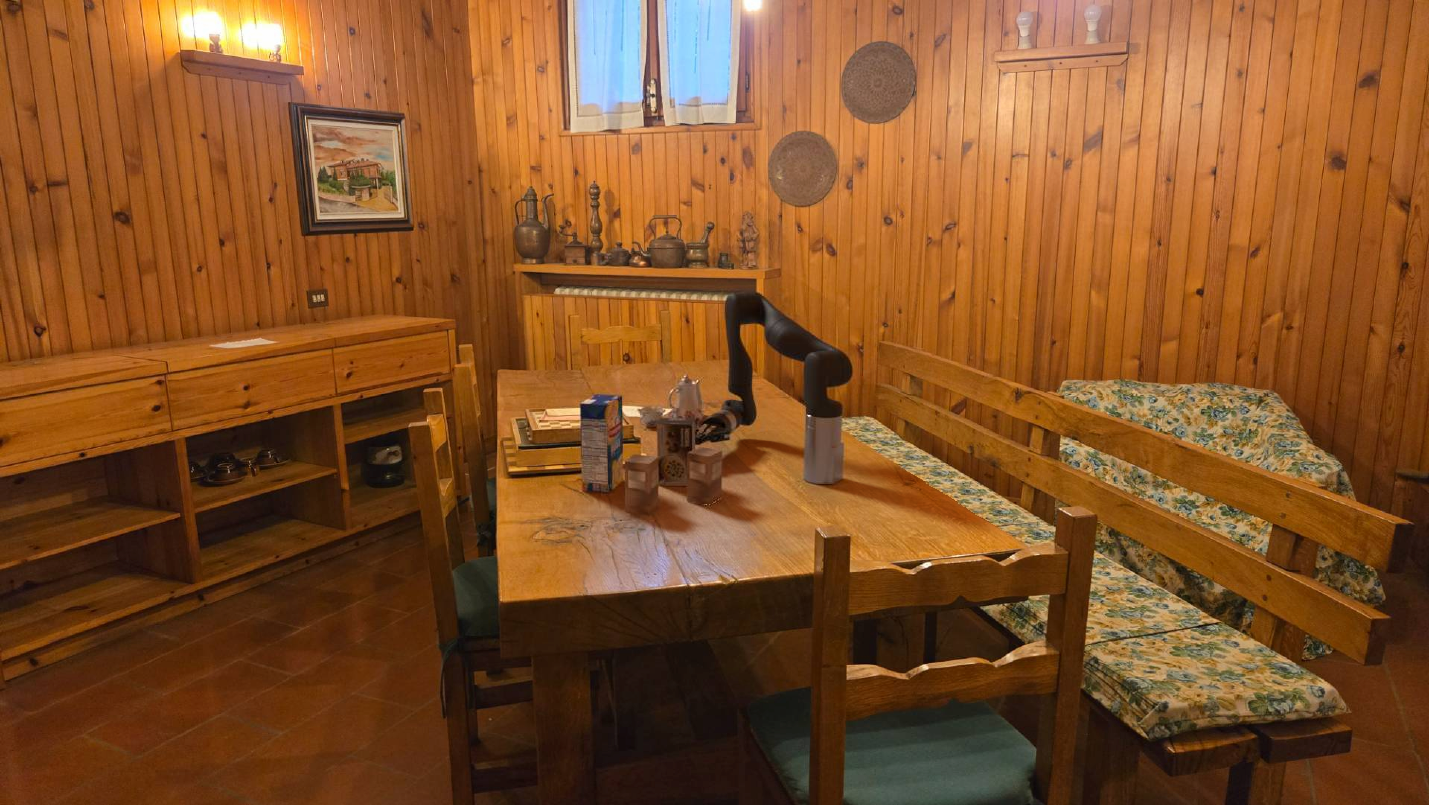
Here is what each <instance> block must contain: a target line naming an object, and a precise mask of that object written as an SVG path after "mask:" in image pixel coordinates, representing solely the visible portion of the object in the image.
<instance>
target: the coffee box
mask: <svg viewBox="0 0 1429 805" xmlns="http://www.w3.org/2000/svg"><path fill="white" fill-rule="evenodd" d="M695 428H696V427H695V418H669V417H662V418H660V420H659V422H658V423H657V424H656V445H657V446H656V450H657V452H656V453H657V454H656V455H657V456H656V457H658V466H659V483H658V486H665V487H666V486H669V487H670V486H671V487H672V486H673V487H687V453H688V452H690V451H692V450H695V449H696V445H695Z"/></svg>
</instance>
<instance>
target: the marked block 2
mask: <svg viewBox="0 0 1429 805" xmlns="http://www.w3.org/2000/svg"><path fill="white" fill-rule="evenodd" d="M722 473H723V450H719V449H715V448H708V447H703V446H700V447H697V448H695V450H692V451H690V452H688V453H687V486H686V502H687V501H690V502H689V503H692V502H695V503H694V504H697V503H699V504H698V505H702V504H707V505H709V504H711V505H713V504H714V503H713V502H715V501H717V502H718V499H720V498H722V496H723V495H722V492H723V489H722V486H723V483H722V481H723V480H722V479H723V477H722V476H723V474H722ZM720 500H721V499H720ZM712 503H713V504H712ZM715 503H716V502H715ZM709 506H710V505H709Z"/></svg>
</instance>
